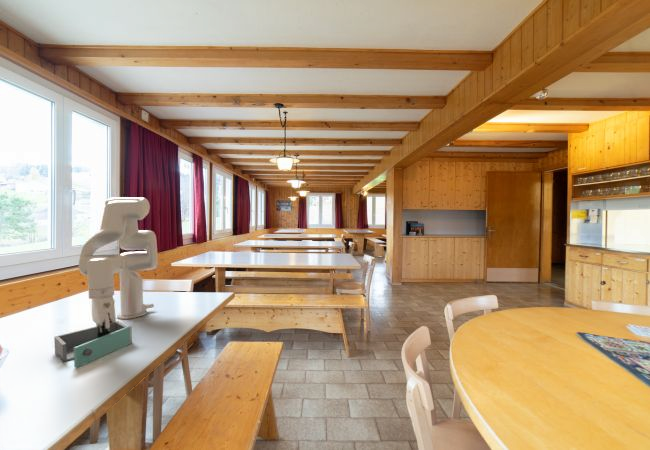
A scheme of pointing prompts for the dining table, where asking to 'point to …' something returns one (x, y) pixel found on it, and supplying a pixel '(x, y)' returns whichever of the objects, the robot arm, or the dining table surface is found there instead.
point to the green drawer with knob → (102, 346)
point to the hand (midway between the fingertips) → (103, 341)
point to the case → (78, 340)
